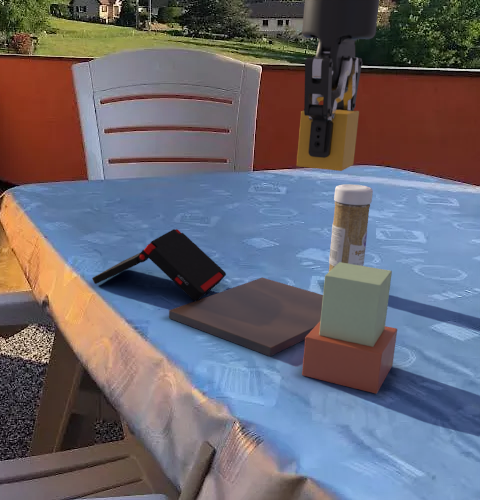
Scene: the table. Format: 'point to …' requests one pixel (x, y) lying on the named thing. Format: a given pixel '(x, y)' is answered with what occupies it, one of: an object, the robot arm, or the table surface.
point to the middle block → (355, 303)
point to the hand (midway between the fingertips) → (326, 153)
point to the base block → (349, 360)
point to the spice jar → (350, 224)
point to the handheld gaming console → (175, 264)
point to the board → (255, 315)
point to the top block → (340, 144)
